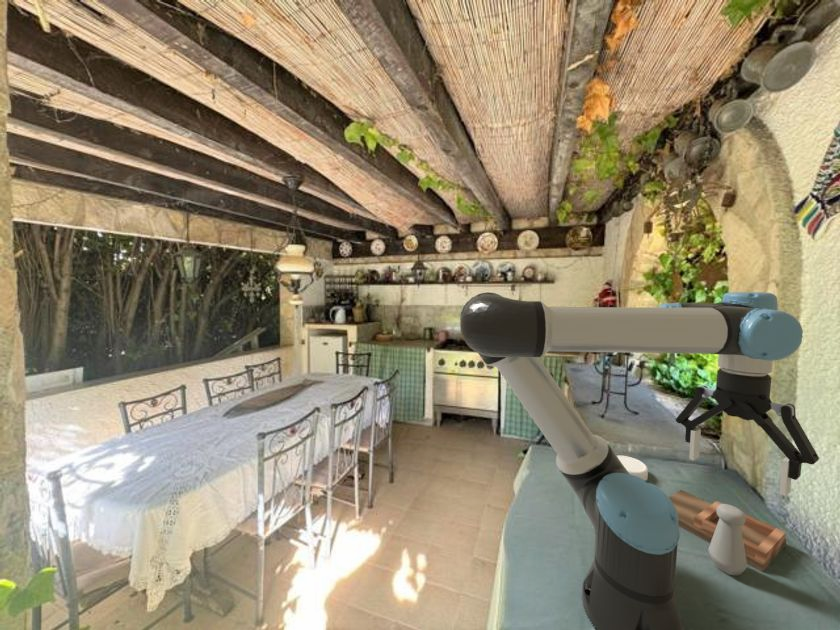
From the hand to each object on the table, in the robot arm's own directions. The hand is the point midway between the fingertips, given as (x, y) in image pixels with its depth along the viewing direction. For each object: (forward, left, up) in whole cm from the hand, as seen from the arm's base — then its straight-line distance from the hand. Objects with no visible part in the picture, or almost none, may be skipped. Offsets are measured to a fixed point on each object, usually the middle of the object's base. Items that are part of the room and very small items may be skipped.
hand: (735, 474), depth 65 cm
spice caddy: (+12, +6, -20) cm, 24 cm away
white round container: (+17, +29, -21) cm, 40 cm away
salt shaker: (0, 0, -21) cm, 21 cm away
